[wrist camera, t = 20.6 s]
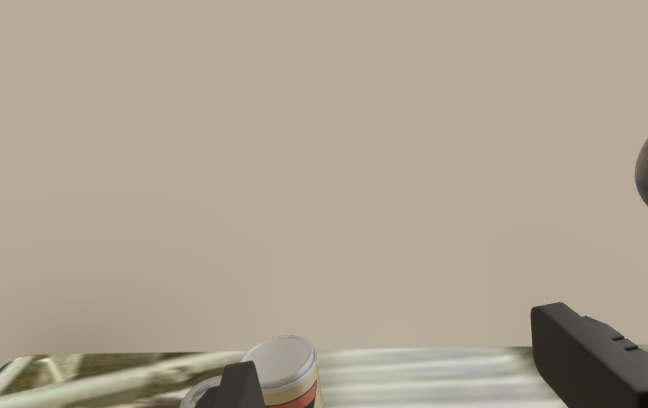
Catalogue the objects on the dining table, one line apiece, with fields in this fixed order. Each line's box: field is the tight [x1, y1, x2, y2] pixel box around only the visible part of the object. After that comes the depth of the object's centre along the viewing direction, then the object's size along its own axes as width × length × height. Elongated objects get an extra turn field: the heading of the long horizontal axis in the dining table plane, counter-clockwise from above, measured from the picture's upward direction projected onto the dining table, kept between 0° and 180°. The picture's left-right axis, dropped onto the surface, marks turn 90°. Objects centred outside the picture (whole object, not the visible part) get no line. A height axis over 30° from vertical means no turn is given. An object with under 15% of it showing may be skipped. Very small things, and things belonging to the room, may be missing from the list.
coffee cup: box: [241, 335, 323, 408], centre depth 48 cm, size 9×9×12 cm
